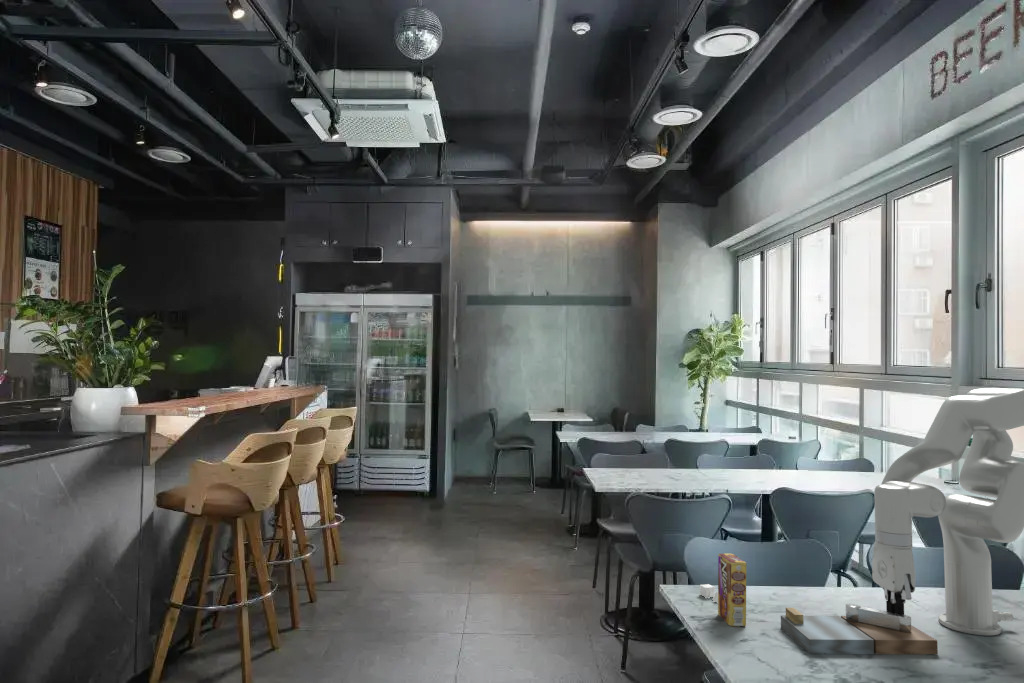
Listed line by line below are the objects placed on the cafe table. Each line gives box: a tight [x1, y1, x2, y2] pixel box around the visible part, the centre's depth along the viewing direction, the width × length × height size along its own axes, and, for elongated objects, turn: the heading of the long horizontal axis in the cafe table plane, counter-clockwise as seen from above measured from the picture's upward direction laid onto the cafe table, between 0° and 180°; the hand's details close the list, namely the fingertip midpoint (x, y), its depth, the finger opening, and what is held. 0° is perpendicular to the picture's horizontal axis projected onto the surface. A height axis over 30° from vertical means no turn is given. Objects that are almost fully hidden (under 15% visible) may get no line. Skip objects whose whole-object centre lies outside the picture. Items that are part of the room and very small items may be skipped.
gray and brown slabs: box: [780, 607, 939, 655], centre depth 151 cm, size 28×15×5 cm, turn 91°
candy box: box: [717, 553, 748, 627], centre depth 164 cm, size 9×4×15 cm, turn 2°
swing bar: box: [845, 603, 912, 632], centre depth 153 cm, size 13×3×3 cm, turn 51°
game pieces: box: [699, 583, 718, 602], centre depth 178 cm, size 12×3×3 cm, turn 18°
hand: (895, 619), depth 153 cm, fingers closed
